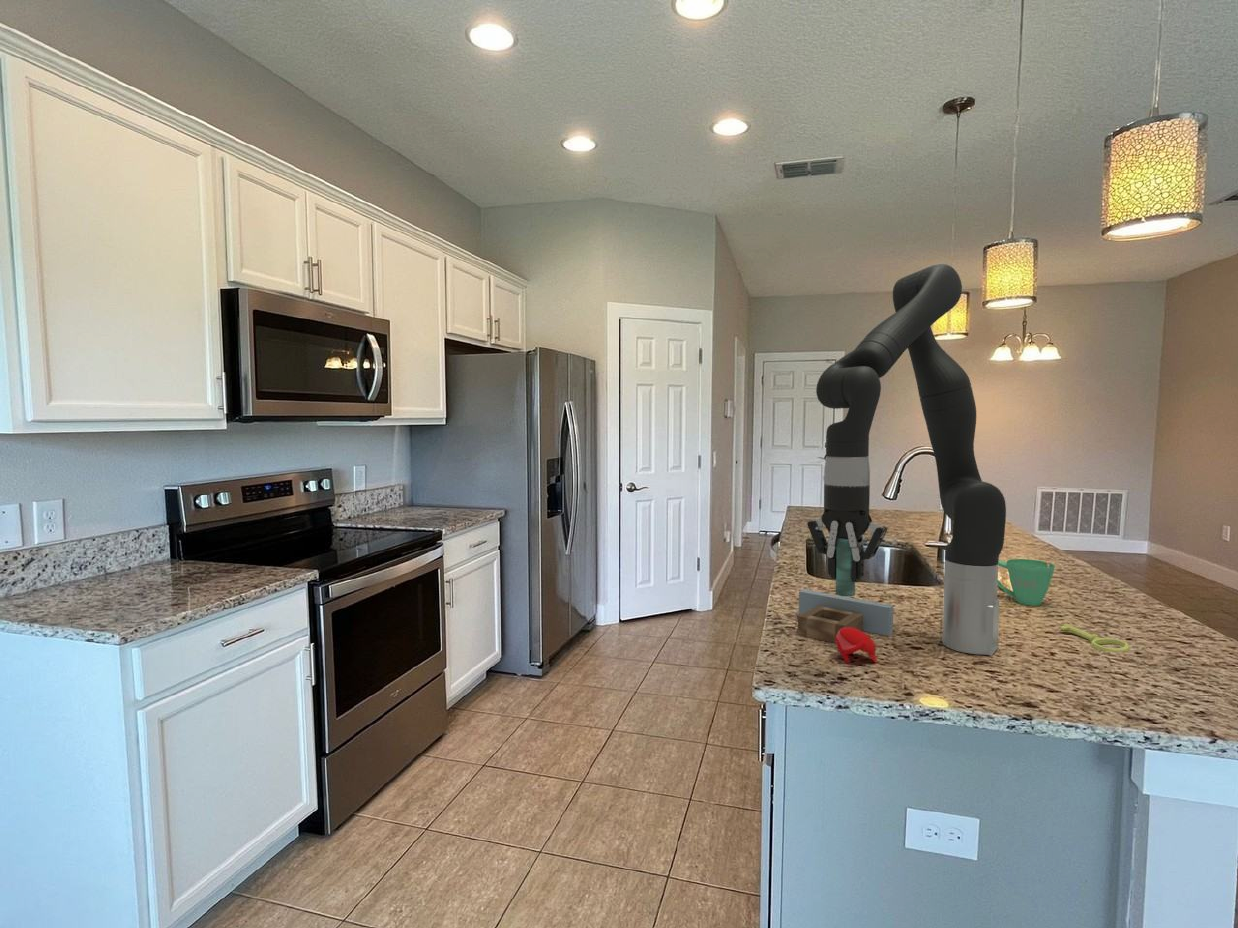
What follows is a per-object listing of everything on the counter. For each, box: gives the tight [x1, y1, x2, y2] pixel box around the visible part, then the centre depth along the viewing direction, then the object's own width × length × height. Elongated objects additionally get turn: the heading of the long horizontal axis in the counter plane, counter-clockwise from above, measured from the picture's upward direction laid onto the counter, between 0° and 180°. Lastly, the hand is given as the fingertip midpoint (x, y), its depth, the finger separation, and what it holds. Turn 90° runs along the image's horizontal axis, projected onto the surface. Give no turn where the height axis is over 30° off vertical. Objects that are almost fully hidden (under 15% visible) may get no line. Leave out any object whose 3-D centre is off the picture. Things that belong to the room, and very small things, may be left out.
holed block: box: [797, 605, 864, 644], centre depth 131 cm, size 10×10×4 cm
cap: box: [835, 627, 878, 664], centre depth 117 cm, size 8×6×6 cm
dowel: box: [835, 538, 856, 597], centre depth 109 cm, size 3×3×10 cm
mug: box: [997, 558, 1056, 607], centre depth 155 cm, size 15×10×10 cm
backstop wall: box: [798, 589, 894, 637], centre depth 137 cm, size 20×2×6 cm, turn 49°
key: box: [1057, 623, 1131, 653], centre depth 126 cm, size 7×12×2 cm, turn 32°
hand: (845, 579), depth 109 cm, fingers closed on dowel, 3 cm apart
